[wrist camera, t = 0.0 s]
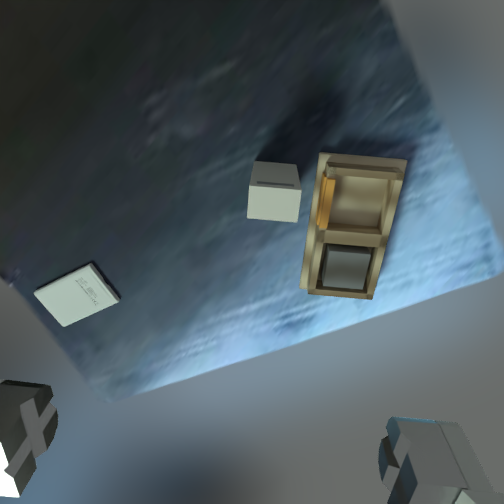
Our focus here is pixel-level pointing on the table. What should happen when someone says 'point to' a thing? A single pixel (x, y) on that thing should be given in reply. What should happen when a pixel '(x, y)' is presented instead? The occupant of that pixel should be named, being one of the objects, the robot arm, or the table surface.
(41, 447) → the robot arm
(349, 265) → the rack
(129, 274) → the table surface
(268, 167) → the white carton
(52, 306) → the external hard drive
